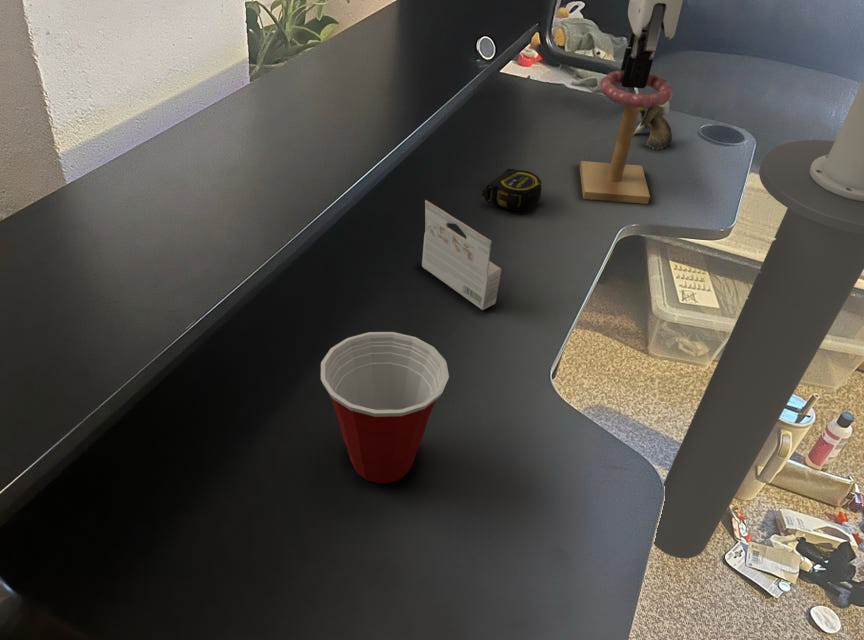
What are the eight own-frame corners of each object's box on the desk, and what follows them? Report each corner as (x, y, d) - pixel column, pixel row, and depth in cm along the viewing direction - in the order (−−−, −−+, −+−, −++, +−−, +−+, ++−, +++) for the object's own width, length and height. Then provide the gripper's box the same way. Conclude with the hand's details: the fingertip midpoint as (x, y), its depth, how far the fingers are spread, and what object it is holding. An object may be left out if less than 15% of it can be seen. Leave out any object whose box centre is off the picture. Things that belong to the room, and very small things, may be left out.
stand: (640, 172, 110) (664, 86, 101) (647, 204, 104) (674, 114, 95) (579, 168, 111) (598, 81, 102) (583, 199, 104) (603, 109, 95)
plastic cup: (444, 422, 73) (454, 330, 65) (434, 512, 65) (444, 421, 57) (336, 409, 74) (333, 318, 66) (314, 497, 66) (306, 405, 58)
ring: (664, 82, 101) (667, 70, 100) (675, 112, 95) (679, 100, 93) (596, 77, 102) (599, 65, 101) (603, 106, 95) (606, 94, 94)
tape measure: (505, 185, 107) (509, 161, 104) (547, 201, 104) (551, 177, 101) (480, 204, 103) (483, 180, 100) (523, 221, 100) (527, 197, 97)
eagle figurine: (611, 116, 121) (628, 132, 114) (642, 79, 118) (661, 91, 111) (645, 142, 124) (663, 158, 116) (676, 105, 121) (697, 120, 113)
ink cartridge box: (434, 260, 93) (440, 192, 86) (497, 304, 87) (508, 234, 80) (419, 267, 92) (424, 198, 85) (482, 312, 86) (491, 242, 79)
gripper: (715, -49, 82) (668, 110, 95) (691, -84, 94) (652, 62, 106) (647, -53, 83) (609, 105, 95) (631, -87, 94) (599, 58, 107)
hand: (632, 81), depth 101 cm, fingers closed on ring, 2 cm apart
